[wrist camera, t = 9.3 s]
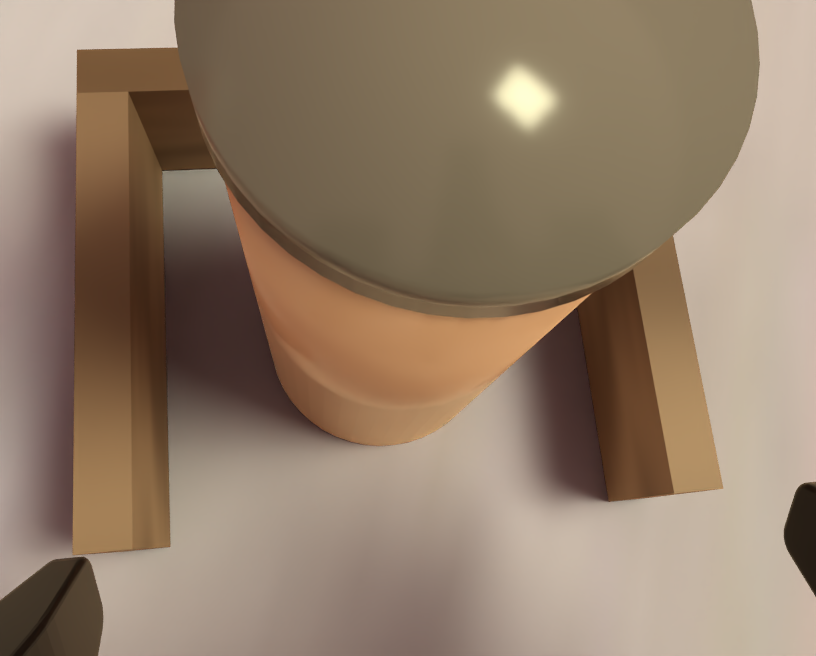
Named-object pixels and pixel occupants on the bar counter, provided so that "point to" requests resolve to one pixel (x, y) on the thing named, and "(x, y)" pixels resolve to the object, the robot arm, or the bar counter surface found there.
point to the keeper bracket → (146, 332)
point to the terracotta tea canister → (453, 175)
